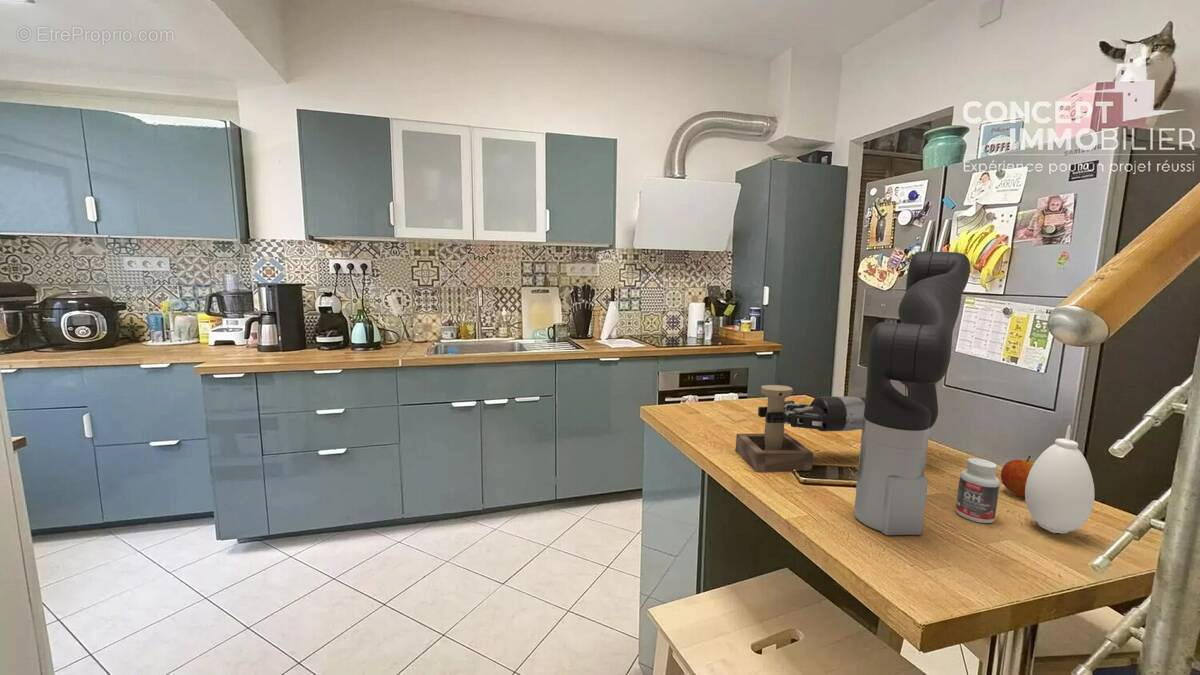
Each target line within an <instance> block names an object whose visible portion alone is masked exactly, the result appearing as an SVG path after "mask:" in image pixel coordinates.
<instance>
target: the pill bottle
mask: <svg viewBox="0 0 1200 675" xmlns="http://www.w3.org/2000/svg"><path fill="white" fill-rule="evenodd" d="M997 469H998V465H997V464H996V463H995V462H992V461H989V460H987V459H983V458H977V457H970V458H968V459H967V460H966V469H963V470H962V471H961V472H960V473H959V480H958V481H959V482H958V489H957V496H956V502H955V512H956V513H957V514H958V515H959V516H961V517H963V518H965V519H967V520H969V521H972V522H975V523H976V522H977V523H980V524H991V523H993V522H995V519H996V514H997V506H998V501H999V493H1000V487H1001V481H1000V479H999V478H998V477H997V476H996V474H997Z"/></svg>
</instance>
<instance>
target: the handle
mask: <svg viewBox="0 0 1200 675" xmlns="http://www.w3.org/2000/svg"><path fill="white" fill-rule="evenodd" d="M760 392H761V394H762V395H764V396H765V397H767V405H766V407H767V412H784V402H785V401H786V399H787V398H788V397H791V396H792V395H793V392H794V391H793V388H792V387H790V386H789V385H781V384H767V385H761V386H760ZM784 433H785V424H784V422H783V423H767V422H766V421H765V423H764V433H763V434H764V436H765V446H766V447H765V450H781V449H780V448H782V444H783V437H784Z"/></svg>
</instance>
